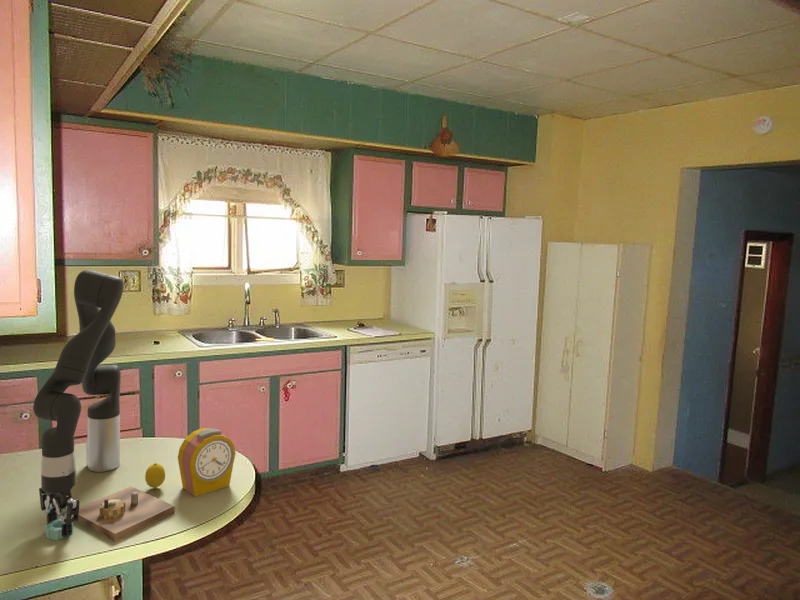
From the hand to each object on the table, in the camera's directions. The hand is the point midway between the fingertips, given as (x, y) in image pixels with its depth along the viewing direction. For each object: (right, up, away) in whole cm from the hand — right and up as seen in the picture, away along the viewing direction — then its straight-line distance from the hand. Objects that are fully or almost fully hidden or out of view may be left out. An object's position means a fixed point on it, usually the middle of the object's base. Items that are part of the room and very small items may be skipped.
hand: (59, 531), depth 151 cm
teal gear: (0, -1, 0) cm, 1 cm away
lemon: (+13, +2, +27) cm, 30 cm away
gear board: (+11, 0, +11) cm, 16 cm away
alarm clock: (+28, +2, +30) cm, 41 cm away
